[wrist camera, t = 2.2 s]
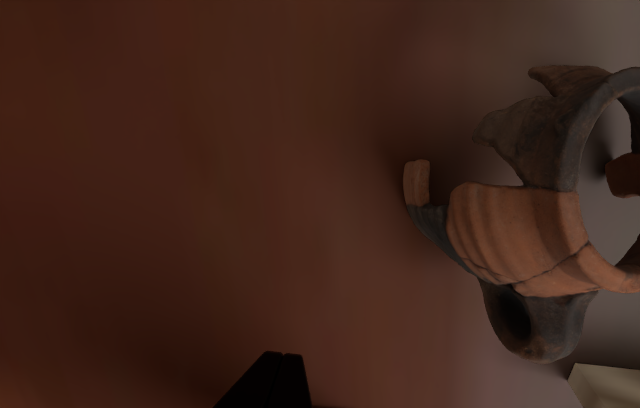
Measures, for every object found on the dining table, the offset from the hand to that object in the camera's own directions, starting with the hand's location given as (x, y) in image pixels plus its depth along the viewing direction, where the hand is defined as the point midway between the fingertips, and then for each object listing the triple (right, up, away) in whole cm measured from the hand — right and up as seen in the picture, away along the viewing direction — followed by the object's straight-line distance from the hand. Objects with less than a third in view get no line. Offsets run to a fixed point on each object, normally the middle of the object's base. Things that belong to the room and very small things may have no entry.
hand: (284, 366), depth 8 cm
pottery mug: (+10, +4, +10) cm, 15 cm away
